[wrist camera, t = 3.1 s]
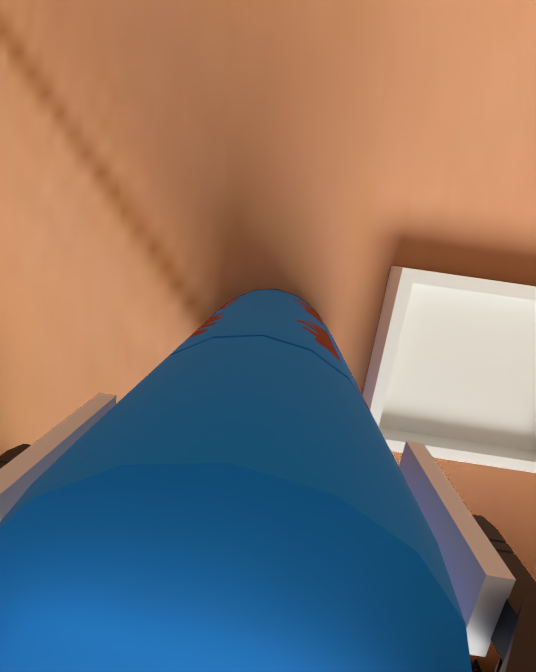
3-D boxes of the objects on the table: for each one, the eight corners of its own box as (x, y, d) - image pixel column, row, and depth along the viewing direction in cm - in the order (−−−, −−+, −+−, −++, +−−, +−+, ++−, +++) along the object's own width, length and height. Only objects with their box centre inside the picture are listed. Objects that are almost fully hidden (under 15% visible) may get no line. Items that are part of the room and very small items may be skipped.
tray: (355, 428, 33) (361, 446, 30) (391, 265, 29) (402, 267, 26) (539, 456, 32) (563, 477, 30) (599, 295, 29) (634, 300, 26)
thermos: (213, 405, 33) (9, 844, 9) (201, 290, 30) (-134, 459, 6) (331, 402, 32) (465, 868, 8) (329, 283, 30) (518, 445, 5)
